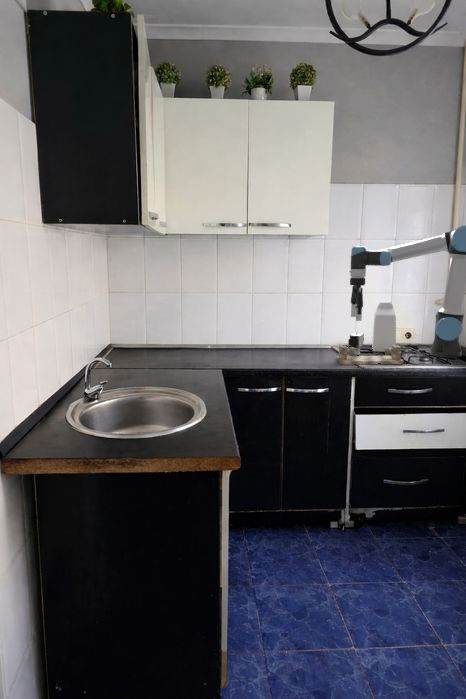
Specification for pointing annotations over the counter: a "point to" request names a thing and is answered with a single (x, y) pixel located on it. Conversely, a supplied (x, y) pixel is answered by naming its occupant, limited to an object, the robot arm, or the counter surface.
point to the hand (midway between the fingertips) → (356, 318)
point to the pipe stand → (370, 359)
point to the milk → (384, 327)
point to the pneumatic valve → (356, 342)
